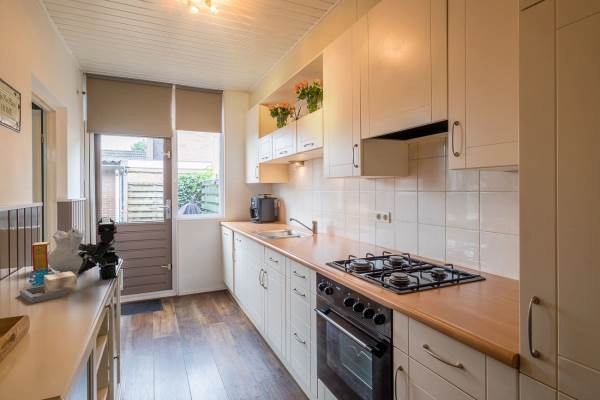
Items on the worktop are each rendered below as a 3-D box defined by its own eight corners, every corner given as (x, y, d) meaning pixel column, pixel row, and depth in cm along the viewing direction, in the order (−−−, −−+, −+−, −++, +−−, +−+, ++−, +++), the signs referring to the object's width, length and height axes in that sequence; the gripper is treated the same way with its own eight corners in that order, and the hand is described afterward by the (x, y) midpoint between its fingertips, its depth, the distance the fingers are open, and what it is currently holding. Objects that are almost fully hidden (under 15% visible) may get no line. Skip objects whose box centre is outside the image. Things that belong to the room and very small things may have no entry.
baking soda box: (36, 269, 187) (35, 242, 186) (50, 267, 190) (49, 240, 190) (33, 273, 179) (31, 244, 178) (48, 271, 182) (46, 243, 182)
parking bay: (53, 288, 151) (53, 282, 151) (67, 295, 140) (67, 289, 140) (19, 295, 141) (19, 289, 141) (31, 303, 130) (31, 297, 130)
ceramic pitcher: (99, 274, 178) (101, 229, 179) (58, 280, 162) (60, 230, 162) (80, 269, 190) (82, 227, 190) (40, 275, 173) (42, 228, 174)
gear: (24, 285, 150) (33, 266, 157) (27, 291, 154) (37, 273, 161) (51, 286, 153) (60, 267, 160) (54, 292, 157) (62, 274, 164)
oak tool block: (71, 286, 153) (70, 271, 153) (77, 291, 145) (76, 275, 145) (44, 292, 146) (43, 275, 146) (49, 297, 138) (48, 280, 138)
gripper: (81, 235, 160) (55, 261, 151) (98, 238, 149) (71, 267, 141) (99, 248, 167) (75, 274, 158) (116, 252, 156) (92, 280, 147)
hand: (78, 273), depth 151 cm, fingers closed
